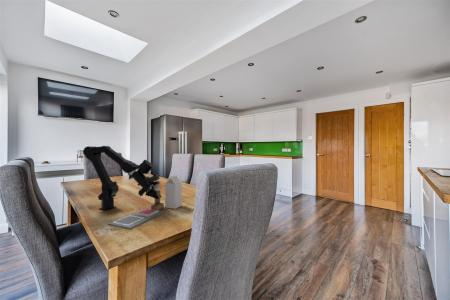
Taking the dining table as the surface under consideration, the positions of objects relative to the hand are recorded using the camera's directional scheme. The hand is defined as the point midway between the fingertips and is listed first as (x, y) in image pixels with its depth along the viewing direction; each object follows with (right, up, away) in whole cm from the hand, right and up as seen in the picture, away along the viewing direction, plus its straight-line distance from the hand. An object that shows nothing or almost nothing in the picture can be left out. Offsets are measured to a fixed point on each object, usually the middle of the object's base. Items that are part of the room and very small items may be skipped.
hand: (159, 197), depth 111 cm
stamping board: (-6, -7, -15) cm, 17 cm away
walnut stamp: (-1, -7, 0) cm, 7 cm away
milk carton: (+7, -7, +4) cm, 11 cm away
